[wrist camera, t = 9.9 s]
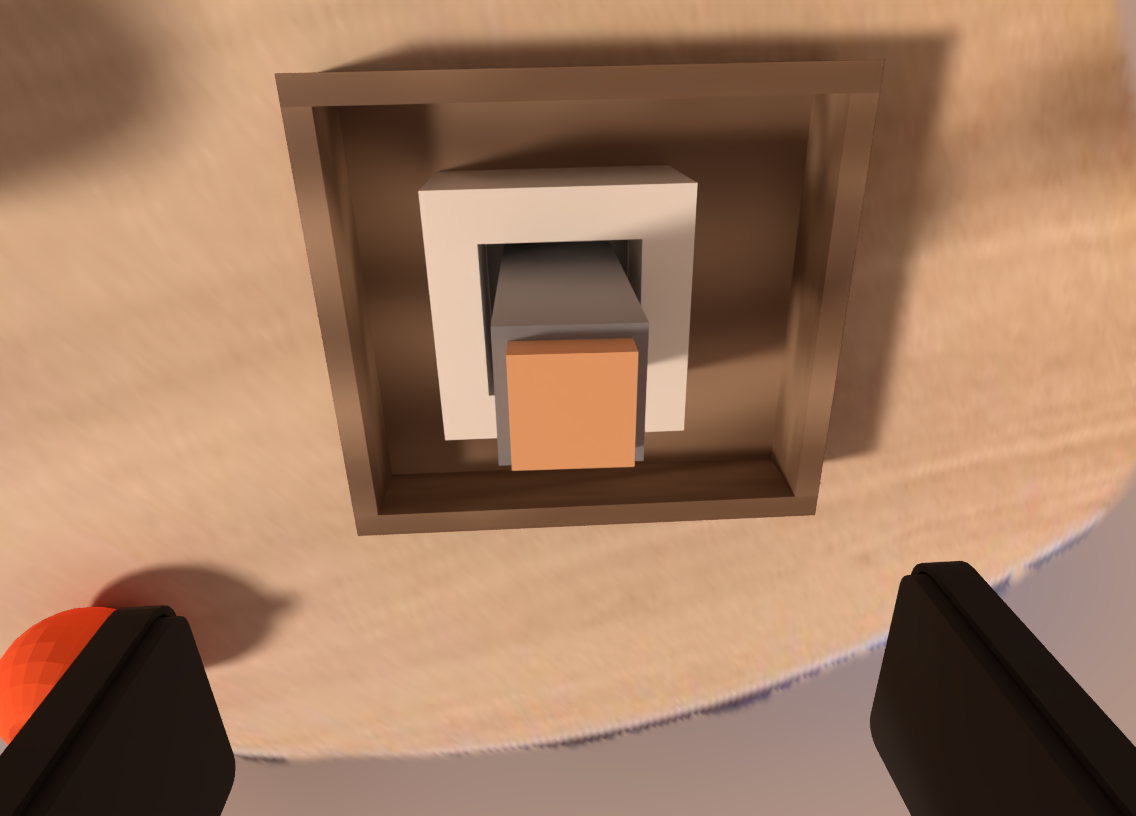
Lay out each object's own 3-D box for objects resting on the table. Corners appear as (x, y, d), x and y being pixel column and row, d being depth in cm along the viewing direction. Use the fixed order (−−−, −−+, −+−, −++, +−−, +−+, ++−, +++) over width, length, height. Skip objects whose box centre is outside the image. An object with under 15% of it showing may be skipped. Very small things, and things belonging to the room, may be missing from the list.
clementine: (177, 564, 35) (98, 672, 29) (227, 665, 38) (165, 784, 32) (23, 588, 35) (-90, 701, 29) (84, 687, 38) (-6, 810, 32)
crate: (309, 74, 26) (274, 73, 22) (837, 62, 27) (884, 59, 23) (376, 487, 34) (357, 535, 30) (785, 469, 34) (814, 514, 31)
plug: (504, 243, 27) (488, 339, 17) (609, 240, 27) (655, 335, 17) (509, 342, 28) (496, 484, 18) (607, 339, 28) (649, 479, 18)
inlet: (438, 171, 27) (418, 190, 22) (667, 164, 28) (697, 182, 23) (458, 383, 31) (445, 440, 26) (660, 376, 31) (683, 430, 26)
